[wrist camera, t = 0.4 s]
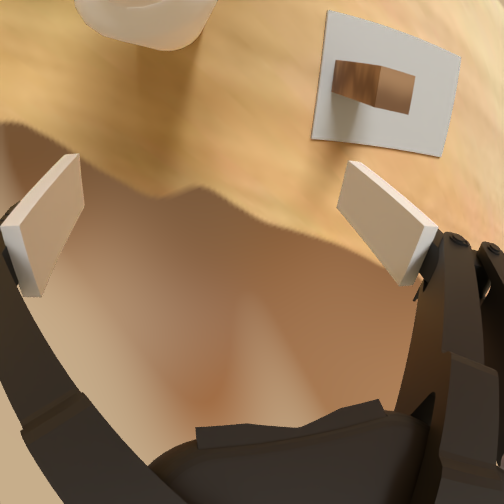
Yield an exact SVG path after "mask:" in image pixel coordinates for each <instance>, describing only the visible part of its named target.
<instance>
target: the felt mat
mask: <svg viewBox="0 0 504 504" xmlns="http://www.w3.org/2000/svg"><path fill="white" fill-rule="evenodd" d="M335 60H342V61H351V62H359V63H366V64H373V65H379V66H383V67H387V68H391V69H394V70H397V71H401V72H404V73H407V74H410V75H413V76H415V83H414V88H413V94H412V100H411V105H410V110H409V115H406V114H402V113H398V112H394V111H389V110H384V109H380V108H375V107H372V106H369V105H367V104H364V103H361V102H359V101H356V100H353V99H350V98H348V97H345V96H342V95H339V94H336V93H333V92H331V89H332V82H333V75H334V67H335ZM460 63H461V57H460V56H458V55H455V54H453V53H451V52H449V51H447V50H445V49H443V48H440V47H438V46H436V45H434V44H431V43H429V42H427V41H424V40H422V39H419V38H417V37H414V36H412V35H409V34H406V33H404V32H401V31H398V30H395V29H393V28H390V27H387V26H384V25H381V24H378V23H374V22H371V21H368V20H365V19H361V18H358V17H354V16H350V15H347V14H343V13H339V12H335V11H331V10H327V15H326V25H325V34H324V42H323V51H322V59H321V67H320V75H319V82H318V90H317V97H316V105H315V112H314V119H313V126H312V133H311V139H319V140H330V141H339V142H348V143H356V144H364V145H372V146H379V147H386V148H392V149H398V150H404V151H410V152H416V153H422V154H427V155H432V156H437V157H441V156H442V152H443V148H444V144H445V140H446V136H447V132H448V128H449V123H450V119H451V114H452V109H453V104H454V99H455V94H456V88H457V83H458V76H459V70H460Z"/></svg>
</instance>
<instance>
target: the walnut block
mask: <svg viewBox="0 0 504 504" xmlns="http://www.w3.org/2000/svg"><path fill="white" fill-rule="evenodd" d="M414 83H415V76H413V75H410V74H407V73H404V72H401V71H397V70H394V69H391V68H387V67H383V66H379V65H373V64H366V63H359V62H351V61H342V60H335V67H334V75H333V82H332V89H331V92H333V93H336V94H339V95H342V96H345V97H348V98H350V99H353V100H356V101H359V102H361V103H364V104H367V105H369V106H372V107H375V108H380V109H384V110H389V111H394V112H398V113H402V114H406V115H409V110H410V105H411V100H412V94H413V88H414Z"/></svg>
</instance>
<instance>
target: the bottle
mask: <svg viewBox="0 0 504 504" xmlns="http://www.w3.org/2000/svg"><path fill="white" fill-rule="evenodd" d="M217 1H218V0H74V2H75V7H76V9H77V11H78V13H79V14H80V16H81V17H82V19H83V20H84V22H85V23H86V25H88V26H89V27H91V28H92V29H94V30H95V31H97V32H98V33H99V34H101V35H102V36H105V37H109V38H113V39H116V40H120V41H123V42H127V43H132V44H136V45H140V46H144V47H148V48H152V49H156V50H160V51H174V50H178V49H182V48H184V47H186V46H188V45H189V44H191V43H192V42H193V41H194V40H195V39H196V38H197V37H199V35H200V33H201V32H202V30H203V28H204V26H205V24H206V22H207V20H208V18H209V16H210V14H211V12H212V10H213V8H214V6H215V5H216V3H217Z"/></svg>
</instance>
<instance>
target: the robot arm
mask: <svg viewBox="0 0 504 504" xmlns="http://www.w3.org/2000/svg"><path fill="white" fill-rule="evenodd" d="M84 207H85V203H84V195H83V187H82V177H81V167H80V155H79V153H77V154H65V155H64V156H63V157H62V158H61V159H60V160H59V161H58V162H57V163H56V164H55V165H54V166H53V167H52V168H51V169H50V170H49V171H48V172H47V173H46V174H45V175H44V176H43V177H42V178H41V180H39V181H38V182H37V184H36V185H35V186H34V187H33V188H32V189H31V190H30V191H29V192H28V194H27V195H26V196H25V197H24V198H23V199H22V201H19V202H17V203H16V204H15V205H13V206H12V207H10V209H9V210H8V211H7V212H6V213H5V215H4V216H3V217H2V218H1V219H0V381H1V383H2V386H3V388H4V390H5V392H6V394H7V397H8V399H9V401H10V403H11V405H12V407H13V409H14V411H15V413H16V415H17V417H18V419H19V421H20V423H21V425H22V428H23V430H21V431H20V432H21V435H22V438H23V440H24V442H25V444H26V446H27V448H28V450H29V451H30V453H31V455H32V456H33V458H34V460H35V461H36V463H37V464H38V466H39V467H40V469H41V471H42V472H43V474H44V476H45V477H46V478H47V480H48V482H49V483H50V484H51V486H52V487H53V489H54V490H55V491H56V493H57V494H58V496H59V497H60V499H61V500H62V501H63V503H64V504H504V253H503V252H502V250H500V248H499V247H498V246H497V245H495V244H493V243H489V242H482V244H481V246H480V248H479V250H478V251H476V250H472V249H471V246H470V244H469V242H468V241H467V240H465V239H464V238H463V237H462V236H460V235H459V234H455V233H452V232H445V233H444V234H443V233H442V232H441V231H440V230H439V229H438V226H437V225H436V224H435V223H434V222H433V221H432V220H430V219H429V218H428V217H427V216H426V215H425V214H424V213H423V212H421V211H420V210H419V209H418V208H417V207H416V206H414V205H413V204H412V203H411V202H410V201H409V200H407V199H406V198H405V197H404V196H403V195H401V194H400V193H399V192H398V191H397V190H395V189H394V188H393V187H392V186H391V185H389V184H388V183H387V182H386V181H384V180H383V179H382V178H381V177H379V176H378V175H377V174H375V173H374V172H373V171H372V170H370V169H369V168H368V167H366V166H365V165H364V164H362V163H361V162H356V161H348V162H347V167H346V171H345V175H344V179H343V184H342V188H341V192H340V196H339V200H338V204H337V209H338V210H339V211H340V212H341V214H342V215H343V216H344V217H345V218H346V220H347V221H348V222H349V223H350V224H351V226H352V227H353V228H354V229H355V230H356V232H357V233H358V234H359V235H360V237H361V238H362V239H363V240H364V242H365V243H366V244H367V245H368V247H369V248H370V249H371V250H372V252H373V253H374V254H375V255H376V257H377V258H378V259H379V261H380V262H381V263H382V264H383V266H384V267H385V268H386V270H387V271H388V272H389V273H390V275H391V276H392V277H393V279H394V280H395V281H396V283H397V284H398V286H409V285H413V284H414V282H415V280H416V278H417V276H418V274H419V273H420V274H421V275H422V277H423V278H424V279H423V281H422V283H421V285H420V287H419V289H418V291H417V293H416V295H415V297H414V299H413V301H416V299H418V303H417V310H416V316H415V322H414V328H413V333H412V338H411V344H410V348H409V353H408V358H407V362H406V368H405V371H404V375H403V380H402V384H401V388H400V392H399V395H398V399H397V403H396V407H395V410H394V411H386V410H384V409H383V407H382V405H381V403H380V401H379V399H376V400H373V401H369V402H365V403H361V404H357V405H352V406H348V407H344V408H340V409H338V410H336V411H334V412H332V413H330V414H328V415H326V416H324V417H322V418H320V419H318V420H316V421H314V422H311V423H309V424H307V425H305V426H302V427H299V428H290V427H276V426H264V425H255V424H236V425H224V426H211V427H196V440H193V441H189V442H186V443H183V444H181V445H178V446H176V447H174V448H172V449H170V450H169V451H167V452H165V453H163V454H162V455H160V456H159V457H158V458H156V459H155V460H154V461H153V462H152V463H151V464H150V465H149V466H147V465H146V464H145V463H144V462H143V461H142V460H141V459H140V458H139V457H138V456H137V455H136V454H135V453H134V452H133V451H132V450H131V449H130V447H128V445H127V444H126V443H125V442H124V441H123V440H122V439H121V438H120V436H119V435H118V434H117V433H116V432H115V431H114V430H113V428H112V427H111V426H110V425H109V424H108V422H107V421H106V420H105V419H104V418H103V416H102V415H101V414H100V413H99V411H98V410H97V409H96V408H95V406H94V405H93V404H92V403H91V401H90V400H89V399H88V398H87V396H86V395H85V394H84V393H83V392H82V393H81V392H80V391H79V389H78V388H77V387H76V385H75V384H74V382H73V381H72V380H71V378H70V377H69V375H68V374H67V372H66V371H65V369H64V368H63V366H62V365H61V363H60V362H59V360H58V359H57V357H56V356H55V354H54V353H53V351H52V349H51V348H50V346H49V345H48V343H47V341H46V340H45V338H44V336H43V335H42V333H41V331H40V329H39V328H38V326H37V324H36V322H35V321H34V319H33V317H32V315H31V314H30V311H29V310H28V308H27V306H26V304H25V302H24V300H23V298H22V296H21V294H20V292H19V290H18V288H17V285H18V284H19V287H20V289H21V292H22V294H23V297H42V295H43V292H44V290H45V287H46V285H47V283H48V281H49V278H50V276H51V274H52V271H53V269H54V267H55V265H56V262H57V260H58V258H59V256H60V254H61V252H62V250H63V248H64V246H65V244H66V242H67V239H68V238H69V236H70V234H71V232H72V230H73V228H74V226H75V224H76V222H77V220H78V218H79V216H80V214H81V213H82V211H83V209H84ZM490 286H491V287H490ZM489 288H490V291H489V293H488V295H487V296H486V297H485V294H486V293H487V291H488V289H489ZM496 461H497V464H498V466H496Z"/></svg>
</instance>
